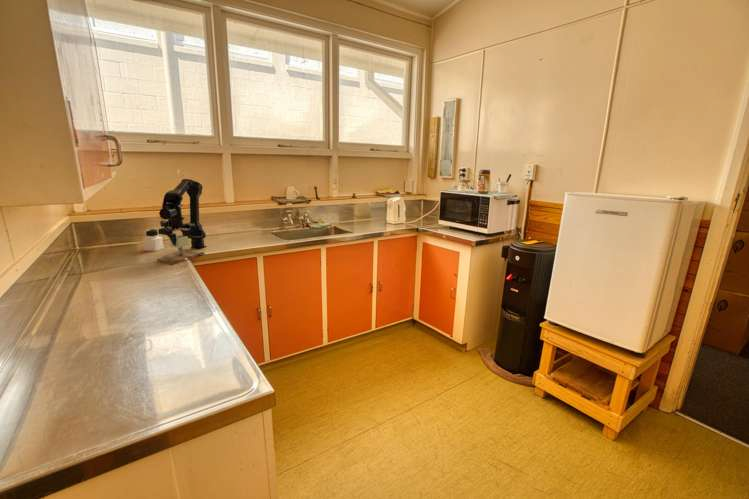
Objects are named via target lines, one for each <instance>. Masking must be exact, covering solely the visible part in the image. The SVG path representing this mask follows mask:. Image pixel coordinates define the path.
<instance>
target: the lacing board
mask: <svg viewBox="0 0 749 499" xmlns="http://www.w3.org/2000/svg"><path fill="white" fill-rule="evenodd" d="M177 248H178V247H177ZM201 254H204V255H205V251H201V250H196V249H185V250H183V247H180V248H178V252H175V253H171V254H169V255H165V256H161V257H158V258H156V261H157V262H159V263H165V264H169V265H175V264H179V263H182V262H185V261H184V259H185V258H188V259H189V260H192V259H194V258H199V257H200V256H199V255H201ZM201 256H202V255H201Z"/></svg>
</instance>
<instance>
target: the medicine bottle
mask: <svg viewBox="0 0 749 499" xmlns="http://www.w3.org/2000/svg"><path fill="white" fill-rule="evenodd" d="M142 241H143V242H142V244H143V247H144V248H143V249H144V251H147V252H148V251H150V252H157V251H159V250H162V249H164V247H165V246H164V242H163V241H164V240H163V236H159V233H158V229H155V228H151V229H150V228H149V229H147V230H145V238H142Z"/></svg>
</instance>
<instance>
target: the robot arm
mask: <svg viewBox="0 0 749 499" xmlns="http://www.w3.org/2000/svg"><path fill="white" fill-rule="evenodd" d="M185 193H186V194H187V195H188V197H189V222H186V223H184V222H183V221H184V220H185V217H184V216H183V214H182V208H181V207H183V204H182V201H183V199H184V197H183V195H185ZM202 193H203V185H202V184H201V183H200V182H198V181H195V180H193V179H192V178H191V179H190V178H183V179H181V181H180V182H179V183H178V184H177V186H176V187H175V188H174V189H172V190H168V191H166V192H165V194H164V196H163V200H162V208H161V209H160V210H159V212H158V215H159V217H160V218H161V219H162V220H160V221H159V224H160V227H161V228H158V229H157V231H158V235H162V236H166V237H167V238H169V239H170V240H171V241H172V243H173V245H176V236H177V233H175V232H176V231H180V232H181V233H182V236H188V240H189V239H191V240H190V244H191V246H190V249H193V250H200V249H203V248H207V245H205V240H204V239H206V237H207V232H205V230H204V229H203V225H202V224H201V223H200V197H201V195H202ZM171 241H170V242H171Z"/></svg>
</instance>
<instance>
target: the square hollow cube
mask: <svg viewBox="0 0 749 499" xmlns="http://www.w3.org/2000/svg"><path fill="white" fill-rule="evenodd" d="M187 246H189V238H188V236H183V235H176V245H173V243H172V241H171V240H170V247H173V248H180V247H182V248H183V247H187Z"/></svg>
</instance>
